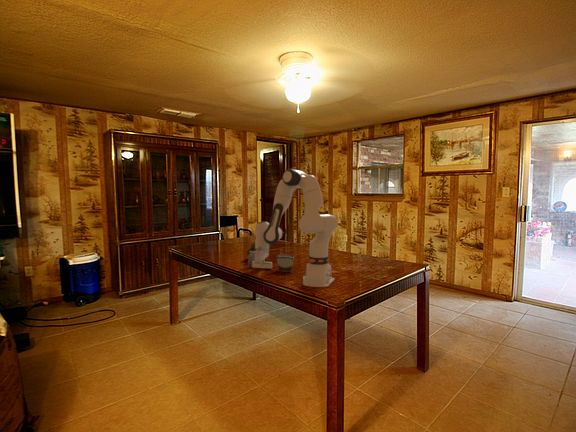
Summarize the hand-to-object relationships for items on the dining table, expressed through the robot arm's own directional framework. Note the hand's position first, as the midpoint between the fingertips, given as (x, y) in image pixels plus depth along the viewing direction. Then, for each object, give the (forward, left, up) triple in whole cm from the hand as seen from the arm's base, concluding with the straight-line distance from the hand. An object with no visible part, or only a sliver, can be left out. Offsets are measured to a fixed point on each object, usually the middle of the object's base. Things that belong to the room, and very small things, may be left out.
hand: (261, 265), depth 207 cm
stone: (+32, +16, -3) cm, 36 cm away
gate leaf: (+4, +1, -2) cm, 5 cm away
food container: (+3, -16, -3) cm, 17 cm away
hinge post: (+4, +10, -3) cm, 11 cm away
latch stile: (+18, +13, -3) cm, 23 cm away
